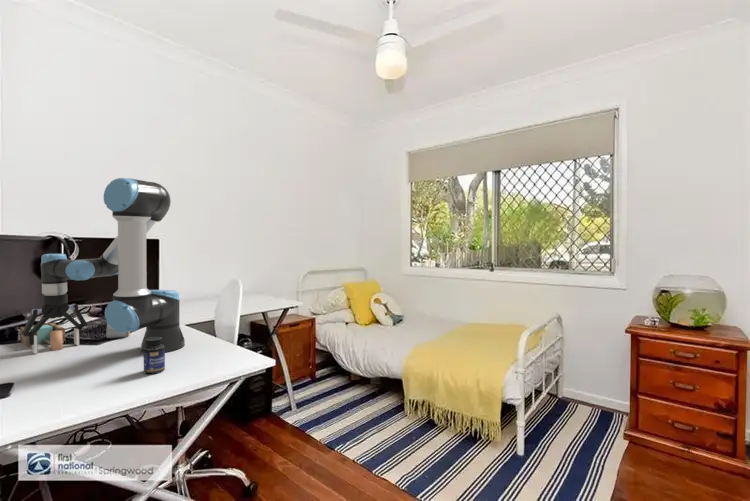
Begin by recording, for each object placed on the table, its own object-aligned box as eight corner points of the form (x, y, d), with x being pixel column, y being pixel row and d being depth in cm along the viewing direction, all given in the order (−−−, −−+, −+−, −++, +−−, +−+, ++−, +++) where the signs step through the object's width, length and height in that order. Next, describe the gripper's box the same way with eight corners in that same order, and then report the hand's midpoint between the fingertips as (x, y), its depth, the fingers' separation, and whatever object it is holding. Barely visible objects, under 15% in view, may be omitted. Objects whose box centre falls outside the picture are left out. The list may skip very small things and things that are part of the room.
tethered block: (68, 348, 148) (67, 330, 148) (48, 352, 143) (48, 333, 143) (47, 338, 160) (47, 322, 160) (29, 341, 155) (28, 325, 155)
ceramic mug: (129, 338, 162) (128, 320, 162) (105, 340, 159) (105, 322, 158) (131, 332, 172) (131, 315, 172) (110, 334, 168) (109, 317, 168)
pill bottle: (149, 376, 121) (149, 342, 121) (139, 372, 125) (139, 339, 124) (168, 370, 127) (168, 337, 126) (158, 366, 130) (158, 334, 129)
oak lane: (65, 342, 155) (64, 328, 155) (33, 348, 147) (33, 333, 146) (51, 336, 164) (50, 322, 163) (20, 341, 155) (20, 327, 155)
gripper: (88, 289, 158) (89, 339, 159) (8, 297, 137) (11, 355, 138) (96, 290, 154) (97, 342, 155) (15, 299, 133) (17, 359, 134)
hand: (56, 348), depth 147 cm, fingers open, 12 cm apart
